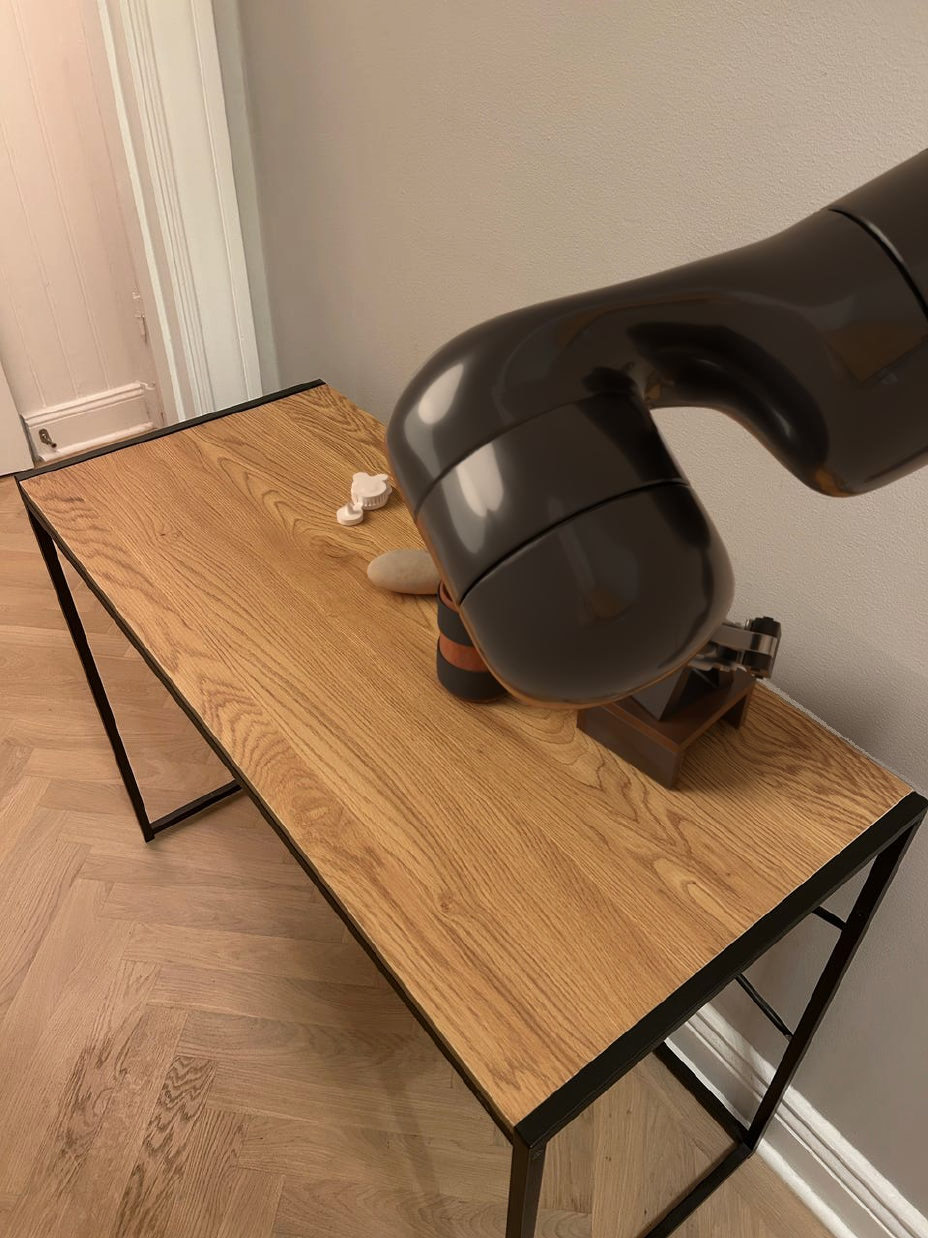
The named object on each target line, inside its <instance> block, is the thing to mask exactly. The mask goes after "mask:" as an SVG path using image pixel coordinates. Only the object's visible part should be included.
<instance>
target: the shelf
mask: <svg viewBox="0 0 928 1238" xmlns="http://www.w3.org/2000/svg"><path fill="white" fill-rule="evenodd" d="M733 677H734V681H733V683H732V684H731V685H730V686H728V687H726V688H724V689H722V690H720V691H718V692H716V693H714V694H712V695H711V696H709V697H707V698H705V699H703V700H701V701H699V702H698V701H697V702H696V703H695V704H693V705H692V706H690V707H688V708H686V709H684V710H682V711H680V712H678V713H676V714H675V715H673V716H671V717H669V718H667V719H665V720H663V721H661V722H660V721H658V720H657V719H656V718H655V717H654V716H653V715H652V714H651V713H650V712H649V711H647V710H646V709H645V708H644V707H643V706H642V705H641V704H640V703H639V702H638V701H636V700H635V699H634V698H633V697H632V696H628V697H626V698H623V699H620V700H617V701H614V702H611V703H608V704H604V705H601V706H596V707H590V708H584V709H578V710H577V714H576V715H577V718H576V726H575V727H576V728H577V729H578V730H580V731H581V732H583V733H584V734H586V735H587V736H589V737H590V738H592V739H593V740H594V741H596V742H597V743H598V744H600V745H602V746H603V747H604V748H606V749H607V750H609V751H610V752H612V753H613V754H615V755H616V756H618V757H619V758H620V759H622V760H623V761H625V762H626V763H628V764H629V765H631V766H632V767H634V768H635V769H637V770H638V771H639V772H641V773H642V774H644V775H645V776H647V777H648V778H650V779H651V780H653V781H654V782H655V783H657V784H659V785H660V786H661V787H663V788H664V789H666V790H667V791H669V792H671V791H672V790H673V789H674V788H675V787H676V786H677V785H678V784H679V779H680V774H681V770H682V764H683V760H684V754H685V750H686V748H687V747H688V746H690V745H691V744H692V743H693V742H694V741H696V739H697V738H698V737H699V736H701V735H702V734H703V733H704V732H705V731H706V730H708V729H709V728H710V727H711V726H712V725H713V724H715V723H716V722H717V721H718V720H719V719H721V720H723V721H724V722H726V723H728V724H730V725H731V726H733V727H734V728H736V729H740V728H741V727H742V726H743V725H744V724H745V723H746V720H747V716H748V712H749V708H750V705H751V702H752V697H753V694H754V691H755V690H754V689H755V687H756V683H757V680H758V678H754V675H752V674H749V673H747V671H746V670H744V669H743V668H742V667H740V666H737V670H736V671H733Z"/></svg>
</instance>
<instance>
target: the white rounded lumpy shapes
mask: <svg viewBox="0 0 928 1238" xmlns="http://www.w3.org/2000/svg"><path fill="white" fill-rule="evenodd" d="M392 492H393V488H392V486H391V483H390V482H389V475H387V474H386V473H378V474H376V475H369V474H368V473H367V472H365V471H362V472H361V471H360V472H356V473H354V474H353V475H352V483H351V488H350V493H351V496H350V497H351V498H350V499H351V501H352V502H353V503H352V502H346V503H345V504H344V506H342V507H340V508H339V509H338V510H337V511H336V521H337V522H338V523H339V524H340V525H343V526H348V527H349V526H355V525H358V524H361V522H362V521H363V520H364V510H365V511H366V510H367V511H371V510H373V511H374V510H377V509H380V508H382V507H384V506H385V505H386V504H387V502H388V498H389V495H391V494H392ZM353 504H354V505H353Z"/></svg>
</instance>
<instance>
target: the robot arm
mask: <svg viewBox="0 0 928 1238" xmlns="http://www.w3.org/2000/svg"><path fill="white" fill-rule="evenodd" d="M674 408H675V409H676V408H677V409H678V408H696V409H707V410H713V411H715V412H717V413H721V414H722V415H724V416H726V417H728V418H729V419H731V420H732V421H734V422H736V423H737V424H738V425H739V426H741V427H742V428H743V429H744V430H745V431H747V432H748V433H749V434H750V435H751V436H752V437H753V438H754V439H755V440H756V441H757V442H758V443H759V444H760V445H761V446H762V447H763V448H764V449H765V450H766V451H767V452H768V453H769V454H770V455H771V456H772V457H773V458H774V459H775V460H776V461H777V462H778V463H779V464H780V465H781V466H782V467H783V468H784V469H785V470H787V471H788V472H789V473H790V474H791V475H792V476H793V477H794V478H796V479H797V480H798V481H800V483H802V484H803V486H805V487H807V488H808V489H810V490H812V491H814V492H816V493H818V494H820V495H821V496H825V497H829V498H836V499H847V498H855V497H859V496H863V495H867V494H869V493H871V492H875V491H877V490H880V489H882V488H884V487H886V486H888V485H891V484H893V483H895V482H896V481H899V480H901V479H903V478H905V477H907V476H909V475H911V474H913V473H915V472H918V471H919V470H921V469H923V468H924V467H926V466H928V147H926V148H925V149H922V150H921V151H919V152H918V153H916V154H914V155H912V156H910V157H908V158H907V159H905V160H903V161H901V162H900V163H898V164H896V165H894V166H893V167H891V168H889V169H888V170H885V171H884V172H882V173H880V174H879V175H877V176H875V177H874V178H871V179H870V180H868V181H866V182H865V183H863V184H861V185H860V186H858V187H856V188H854V189H853V190H851V191H849V192H847V193H845V194H844V195H842V196H840V197H838V198H837V199H834V200H833V201H832V202H829V203H827V204H826V205H824V206H823V207H821V208H820V209H819V210H817V211H814V212H812V213H811V214H809V215H807V216H806V217H804V218H801V219H800V220H798V221H797V222H795V223H794V224H792V225H790V226H788V227H786V228H785V229H782V230H781V231H779V232H777V233H774V234H772V235H770V236H767V237H765V238H762V239H760V240H757V241H754V242H751V243H749V244H746V245H742V246H739V247H736V248H733V249H730V250H726V251H723V252H720V253H717V254H712V255H709V256H706V257H703V258H699V259H697V260H696V259H695V260H692V261H688V262H686V263H683V264H679V265H676V266H673V267H670V268H667V269H664V270H661V271H657V272H654V273H651V274H647V275H644V276H641V277H636V278H633V279H629V280H625V281H622V282H618V283H614V284H610V285H606V286H602V287H598V288H594V289H589V290H585V291H580V292H576V293H572V294H569V295H568V294H567V295H564V296H560V297H556V298H552V299H548V300H544V301H539V302H536V303H534V304H530V305H527V306H524V307H521V308H517V309H513V310H510V311H507V312H504V313H501V314H498V315H495V316H493V317H491V318H488V319H486V320H484V321H481V322H479V323H476V324H475V325H473V326H471V327H469V328H467V329H465V330H462V332H460V333H459V334H457V335H456V336H454V337H452V338H450V340H448V341H447V342H445V343H443V344H442V345H441V346H439V347H438V348H437V349H436V350H434V351H433V352H432V353H431V354H430V355H429V356H428V357H427V358H426V359H425V360H424V361H423V362H422V363H421V364H420V365H419V366H418V367H417V368H416V369H415V371H414V372H413V373H412V374H411V376H410V377H409V378H408V380H407V381H406V383H405V384H404V385H403V387H402V389H401V390H400V391H399V393H398V395H397V397H396V399H395V401H394V403H393V405H392V407H391V410H390V412H389V415H388V418H387V421H386V426H385V430H384V437H383V438H384V439H383V447H384V456H385V460H386V463H387V466H388V469H389V473H390V476H391V479H392V480H393V482H394V484H395V487H396V489H397V490H398V493H399V495H400V497H401V499H402V501H403V503H404V505H405V507H406V509H407V511H408V513H409V515H410V517H411V520H412V521H413V523H414V525H415V527H416V529H417V531H418V533H419V535H420V537H421V539H422V541H423V543H424V545H425V547H426V550H428V551H429V554H430V556H431V558H432V560H433V562H434V564H435V566H436V568H437V570H438V572H439V574H440V576H441V578H442V580H443V582H444V584H445V586H446V588H447V590H448V593H449V595H450V597H451V599H452V601H453V603H454V605H455V607H456V609H457V610H458V611H459V615H460V617H461V620H462V622H463V624H464V626H465V628H466V630H467V632H468V634H469V636H470V638H471V640H472V642H473V644H474V646H475V648H476V650H477V651H478V653H479V655H480V657H481V658H482V660H483V661H484V663H485V665H486V666H487V667H488V669H489V670H490V672H491V673H492V674H493V675H494V677H495V678H496V679H497V680H498V681H499V682H500V683H501V684H502V685H503V687H504V688H505V689H507V690H508V691H509V693H510V694H511V695H512V696H514V697H515V698H517V700H520V701H521V702H523V703H525V704H527V705H529V706H533V707H535V708H539V709H543V710H549V711H578V709H584V708H590V707H596V706H601V705H604V704H608V703H611V702H614V701H617V700H620V699H623V698H626V697H628V696H631V695H633V694H635V693H637V692H639V691H641V690H643V689H645V688H647V687H649V686H651V685H653V684H656V683H659V682H661V681H664V680H666V679H668V678H670V677H672V676H673V675H675V674H677V673H678V672H679V671H681V670H682V669H683V668H684V667H686V666H687V667H691V668H696V669H701V670H706V671H708V670H710V669H711V668H712V667H713V668H717V669H720V670H722V671H726V672H729V670H733V671H736V670H737V667H739V668H744V669H745V671H746V672H747V673H749V674H751V675H753V676H754V678H757V680H763V681H764V678H765V679H772V674H773V670H774V667H775V663H776V659H777V655H778V651H779V647H780V642H781V638H782V625H781V622H779V621H776V620H774V618H773V617H770V616H766V615H763V616H762V617H760V616H759V617H758V616H757V617H754V619H753V618H746V620H745V624H744V625H743V624H742V623H740V622H737V621H731V620H728V619H727V615H728V614H729V612H730V610H731V607H732V605H733V602H734V598H735V594H736V593H735V592H736V577H735V572H734V569H733V565H732V561H731V558H730V555H729V552H728V550H727V547H726V545H725V543H724V540H723V538H722V537H721V534H720V532H719V530H718V529H717V526H716V524H715V522H714V521H713V519H712V517H711V515H710V514H709V511H708V510H707V508H706V506H705V505H704V503H703V501H702V499H701V498H700V496H699V494H698V493H697V491H696V490H695V488H693V486H692V484H691V482H690V481H691V480H689V478H688V476H687V474H686V473H685V471H684V469H683V467H682V466H681V464H680V462H679V460H678V458H677V457H676V455H675V453H674V451H673V449H672V448H671V446H670V445H669V443H668V441H667V438H666V437H665V436H664V434H663V432H662V430H661V428H660V426H659V425H658V423H657V421H656V419H655V417H654V416H653V414H652V413H651V411H655V410H661V409H662V410H663V409H674Z"/></svg>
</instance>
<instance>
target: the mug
mask: <svg viewBox="0 0 928 1238" xmlns="http://www.w3.org/2000/svg"><path fill="white" fill-rule="evenodd" d="M436 595H437V610H436V611H437V612H436V613H437V614H436V615H437V616H436V624H437V627H438V630H439V635H438V638H437V643H436V665H435V666H436V675H437V679H438V681H439V683H440V684H441V685H442V687H443V688H444V689H446V691H447V692H449V693H450V695H452V696H454V697H456V698H457V699H460V700H461V701H465V702H470V703H477V704H478V703H482V704H483V703H489V702H494V701H497V700H500V699H503V697H505V696H507V695H508V694H509V693H510V692H509V691H508V690H507V689H505V688H504V687H503V685H502V684H501V683H500V682H499V681H498V680H497V679H496V678H495V677H494V675H493V674H492V673H491V672H490V670H489V669H488V667H487V666H486V665H485V663H484V661H483V660H482V658H481V657H480V655H479V653H478V651H477V650H476V648H475V646H474V644H473V642H472V640H471V638H470V636H469V634H468V632H467V630H466V628H465V626H464V624H463V622H462V620H461V617H460V615H459V611H458V610H457V609H456V607H455V605H454V603H453V601H452V599H451V597H450V595H449V593H448V590H447V588H446V586H445V584H444V582H443V580H441V582H440V583H439V585H438V589H437V594H436Z"/></svg>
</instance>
